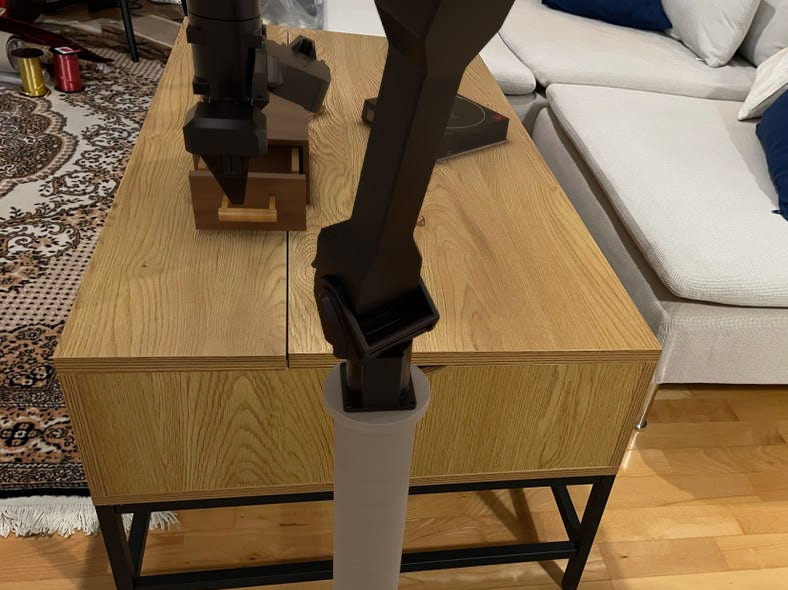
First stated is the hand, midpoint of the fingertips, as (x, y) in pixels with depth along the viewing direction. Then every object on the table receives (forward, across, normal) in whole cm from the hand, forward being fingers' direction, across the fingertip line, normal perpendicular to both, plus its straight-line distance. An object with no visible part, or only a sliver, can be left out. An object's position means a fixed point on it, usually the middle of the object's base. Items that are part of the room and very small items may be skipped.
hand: (239, 186), depth 67 cm
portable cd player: (+12, +45, -27) cm, 54 cm away
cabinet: (+12, +27, 0) cm, 30 cm away
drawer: (+11, +15, 0) cm, 19 cm away
